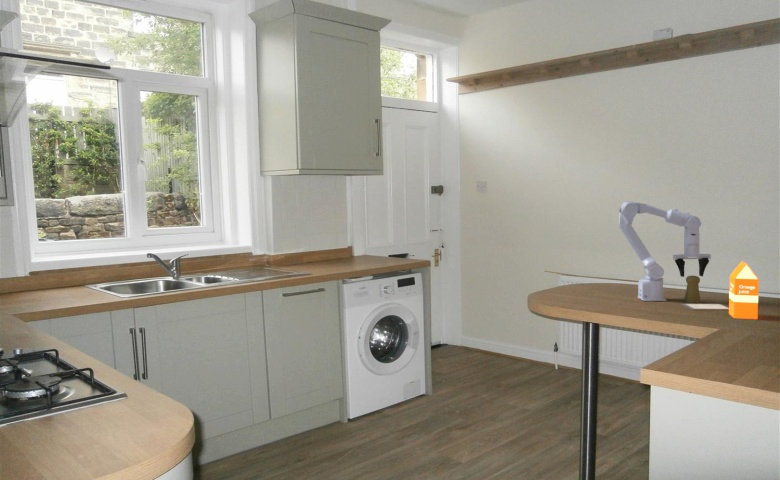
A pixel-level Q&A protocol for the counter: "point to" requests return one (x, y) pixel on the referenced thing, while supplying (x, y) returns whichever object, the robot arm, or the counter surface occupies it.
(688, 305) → the notepad
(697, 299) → the cork
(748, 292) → the orange juice
